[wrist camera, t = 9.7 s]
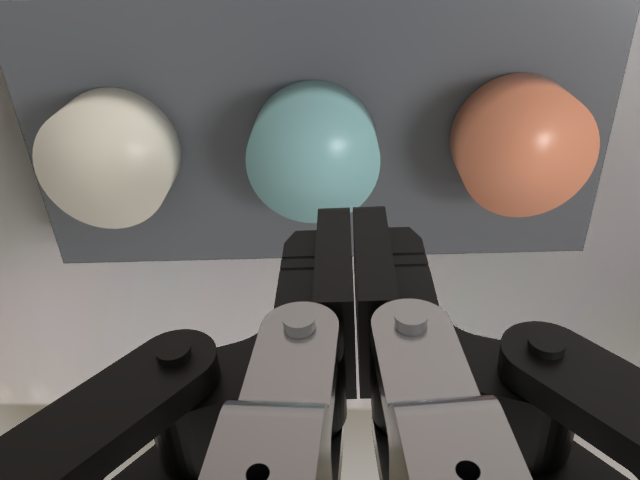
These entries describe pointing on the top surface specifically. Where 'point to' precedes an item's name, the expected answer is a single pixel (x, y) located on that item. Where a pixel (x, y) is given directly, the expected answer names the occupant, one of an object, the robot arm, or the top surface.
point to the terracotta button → (523, 145)
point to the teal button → (312, 150)
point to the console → (302, 65)
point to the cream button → (107, 158)
